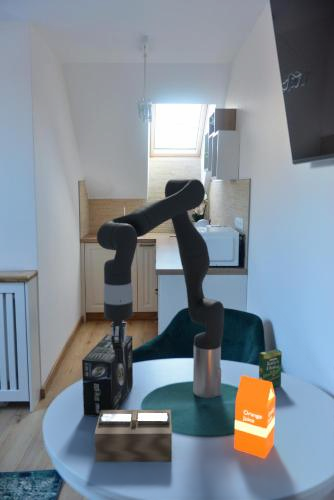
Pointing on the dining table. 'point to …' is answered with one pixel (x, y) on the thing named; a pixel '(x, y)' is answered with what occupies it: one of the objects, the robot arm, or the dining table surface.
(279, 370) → the coffee box
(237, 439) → the orange juice
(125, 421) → the clasp
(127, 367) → the box
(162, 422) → the clasp
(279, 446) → the dining table surface
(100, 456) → the wooden latch case
